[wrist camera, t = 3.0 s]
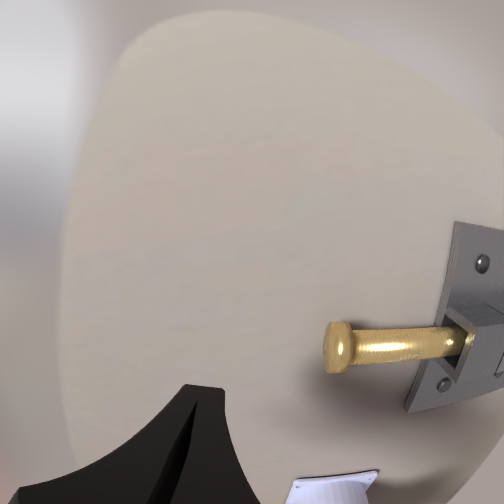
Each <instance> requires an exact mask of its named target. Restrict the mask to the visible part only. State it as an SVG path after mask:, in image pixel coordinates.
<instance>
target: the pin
mask: <svg viewBox="0 0 504 504" xmlns="http://www.w3.org/2000/svg"><path fill="white" fill-rule="evenodd" d="M467 336H468V332H467V331H466V330H464V329H463V328H462V327H461V326H459V325H457V326H445V327H430V328H413V329H387V330H352V329H351V326H350V325H349V323H347V322H330V323H329V324H328V325H327V328H326V331H325V335H324V343H323V361H324V367H325V370H326V372H327V373H345V372H347V371H348V369H349V367H350V365H360V364H378V363H392V362H404V361H414V360H423V359H431V358H438V357H446V356H452V355H459V354H461V353H462V350H463V347H464V345H465V342H466V339H467Z"/></svg>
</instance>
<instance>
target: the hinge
mask: <svg viewBox="0 0 504 504" xmlns="http://www.w3.org/2000/svg"><path fill="white" fill-rule="evenodd" d="M434 325H435V326H436V327H445V326H457V325H459V326H461V327H462V328H463V329H464V330H466V331H467V332H468V336H467V339H466V342H465V345H464V347H463V350H462V353H461V354H459V355H452V356H446V357H438V358H431V359H423V360H422V362H421V365H420V368H419V371H418V373H417V376H416V378H415V381H414V383H413V386H412V388H411V391H410V393H409V395H408V398H407V400H406V402H405V404H404V407H403V408H404V409H405V411H406V413H407V414H408V413H414V412H419V411H424V410H428V409H433V408H437V407H441V406H445V405H449V404H453V403H457V402H460V401H464V400H467V399H470V398H474V397H477V396H480V395H483V394H486V393H489V392H492V391H495V390H498V389H500V388H503V387H504V230H500V229H495V228H490V227H485V226H480V225H474V224H469V223H463V222H458V221H454V229H453V237H452V244H451V250H450V256H449V262H448V268H447V273H446V278H445V282H444V287H443V291H442V296H441V300H440V304H439V308H438V311H437V315H436V319H435V322H434Z"/></svg>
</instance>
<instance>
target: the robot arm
mask: <svg viewBox="0 0 504 504" xmlns="http://www.w3.org/2000/svg"><path fill="white" fill-rule="evenodd" d="M377 475H378V473H377V471H369V472H363V473H357V474H350V475H342V476H333V477H323V478H309V479H297V480H295V481H294V482H293V485H292V487H291V490H290V493H289V495H288V498H287V501H286V503H285V504H369V502H368V499H367V495H366V491H367V489H368V488H369V487H370V485H371V484H372V482H373V481H374V479H375V478H376V476H377ZM8 504H260V502H259V501H258V499H257V497H256V496H255V494H254V492H253V490H252V489H251V487H250V485H249V483H248V481H247V479H246V477H245V475H244V473H243V470H242V468H241V466H240V463H239V461H238V458H237V456H236V453H235V450H234V447H233V444H232V441H231V438H230V434H229V430H228V426H227V422H226V416H225V391H224V390H223V389H222V388H214V387H205V386H197V385H189V384H185V385H184V386H182V388H181V389H180V390H179V391H178V393H177V394H176V395H175V396H174V397H173V398H172V400H171V401H170V402H169V403H168V404H167V405H166V406H165V407H164V408H163V409H162V410H161V411H160V412H159V413H158V414H157V415H156V416H155V417H154V418H153V419H152V420H151V421H150V422H149V423H148V424H147V425H146V426H145V427H144V428H143V429H141V430H140V431H139V432H138V433H137V434H135V435H134V436H133V437H132V438H131V439H129V440H128V441H127V442H125V443H124V444H123V445H121V446H120V447H118V448H117V449H115V450H114V451H112V452H111V453H109V454H108V455H106V456H104V457H103V458H101V459H99V460H97V461H96V462H94V463H92V464H90V465H88V466H86V467H84V468H82V469H80V470H77V471H75V472H72V473H70V474H67V475H65V476H62V477H59V478H56V479H53V480H50V481H46V482H42V483H38V484H34V485H30V486H24V487H20V488H19V489H18V490H17V491H16V493H15V494H14V495H13V497H12V499H11V500H10V502H9V503H8Z"/></svg>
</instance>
